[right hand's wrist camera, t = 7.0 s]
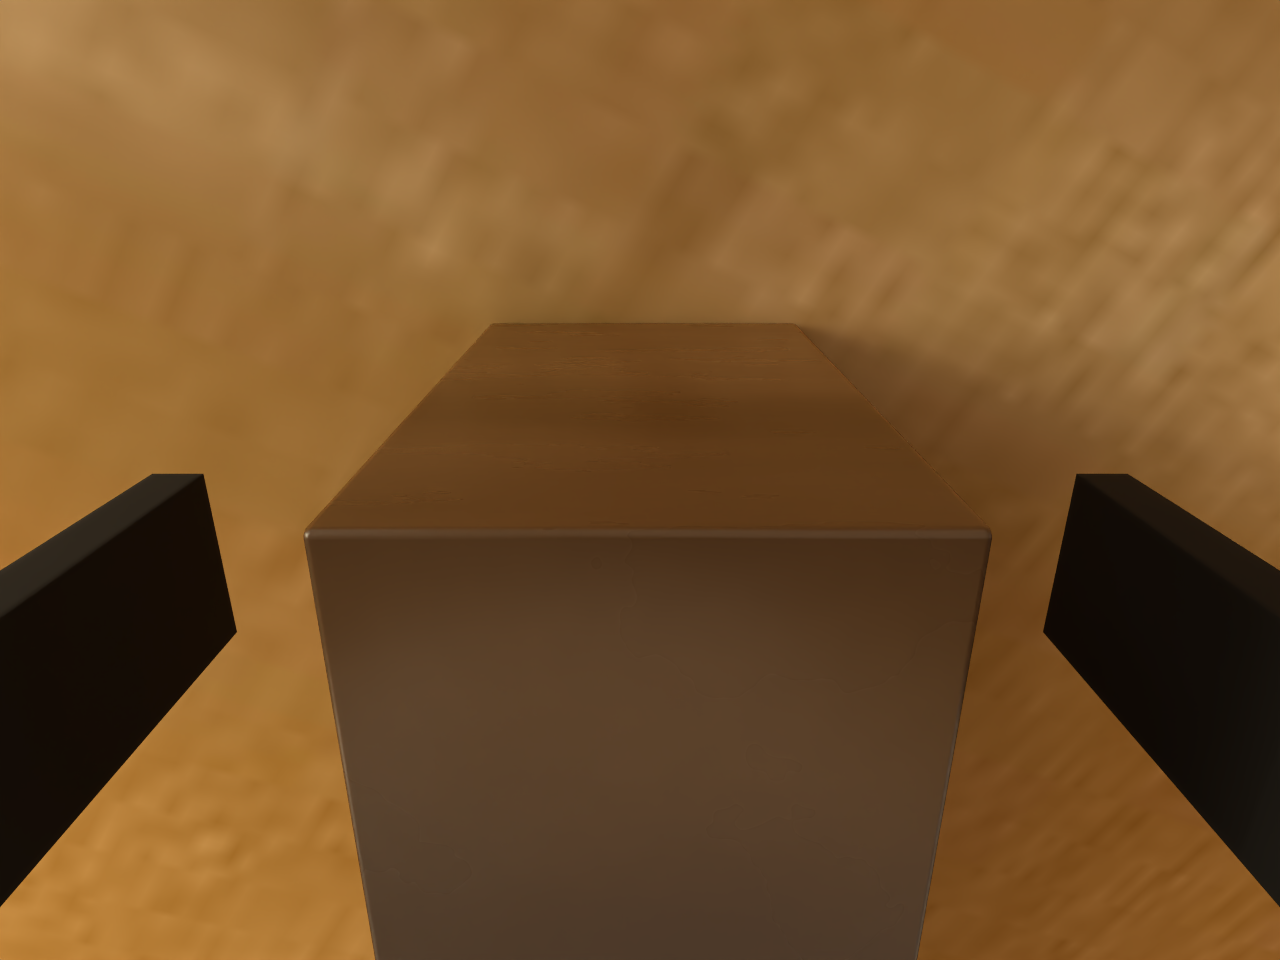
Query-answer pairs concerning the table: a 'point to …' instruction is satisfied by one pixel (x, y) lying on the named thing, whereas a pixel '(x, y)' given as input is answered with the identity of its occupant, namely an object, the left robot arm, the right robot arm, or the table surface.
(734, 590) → the bar
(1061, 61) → the table surface
